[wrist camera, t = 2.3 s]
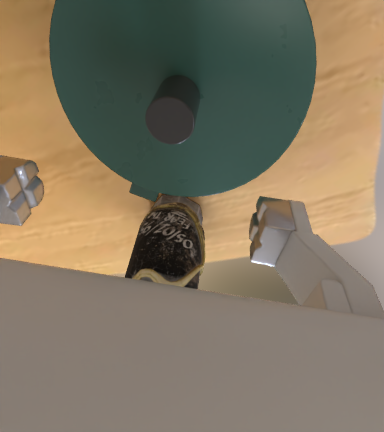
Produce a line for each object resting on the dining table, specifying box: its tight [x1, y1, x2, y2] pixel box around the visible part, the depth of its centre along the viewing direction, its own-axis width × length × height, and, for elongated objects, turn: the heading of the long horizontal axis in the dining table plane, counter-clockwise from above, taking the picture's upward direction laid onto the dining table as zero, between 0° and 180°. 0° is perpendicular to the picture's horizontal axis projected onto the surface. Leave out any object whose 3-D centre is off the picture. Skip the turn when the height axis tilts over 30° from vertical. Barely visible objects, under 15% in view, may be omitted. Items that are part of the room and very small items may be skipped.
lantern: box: [125, 195, 205, 289], centre depth 27 cm, size 9×8×25 cm
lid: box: [49, 0, 316, 197], centre depth 16 cm, size 16×16×5 cm
